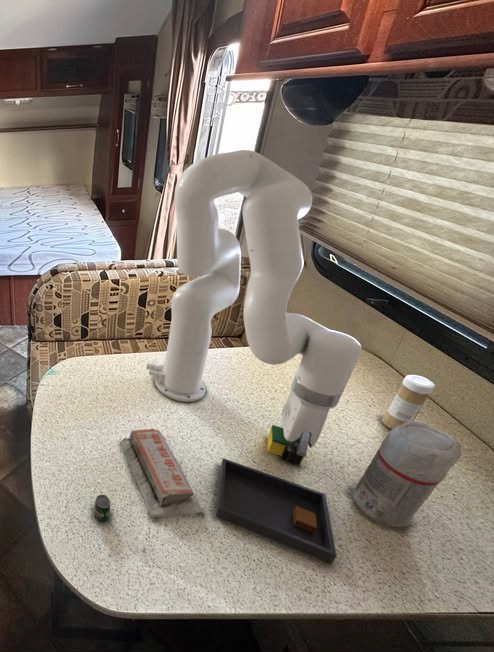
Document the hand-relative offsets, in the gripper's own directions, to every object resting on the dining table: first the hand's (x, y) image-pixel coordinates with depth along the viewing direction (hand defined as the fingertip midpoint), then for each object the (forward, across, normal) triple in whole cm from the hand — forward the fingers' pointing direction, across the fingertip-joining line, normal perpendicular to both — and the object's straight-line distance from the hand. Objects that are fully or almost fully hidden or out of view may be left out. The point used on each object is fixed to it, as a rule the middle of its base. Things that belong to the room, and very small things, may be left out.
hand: (288, 452), depth 81 cm
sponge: (0, 0, -1) cm, 1 cm away
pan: (0, +17, -4) cm, 17 cm away
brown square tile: (0, +17, +1) cm, 17 cm away
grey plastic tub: (0, +7, +14) cm, 15 cm away
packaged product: (0, +19, -24) cm, 31 cm away
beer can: (0, +33, -32) cm, 46 cm away
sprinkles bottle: (0, -20, +22) cm, 30 cm away
